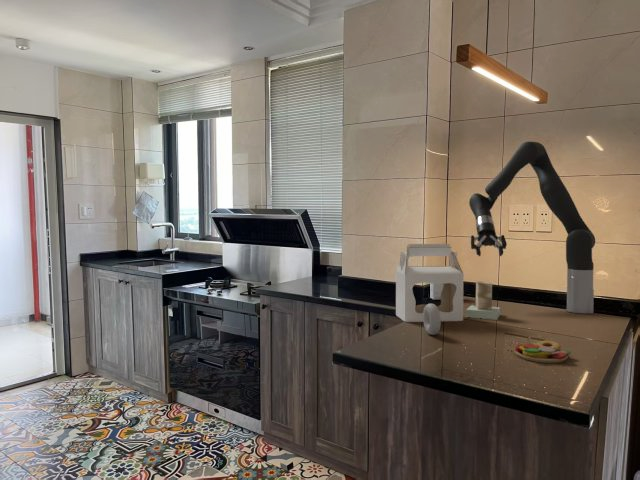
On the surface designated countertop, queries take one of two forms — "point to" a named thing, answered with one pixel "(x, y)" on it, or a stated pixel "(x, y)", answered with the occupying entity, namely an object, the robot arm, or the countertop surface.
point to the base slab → (483, 313)
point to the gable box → (429, 274)
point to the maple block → (484, 295)
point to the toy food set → (542, 352)
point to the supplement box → (436, 291)
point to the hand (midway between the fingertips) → (490, 254)
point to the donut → (431, 319)
